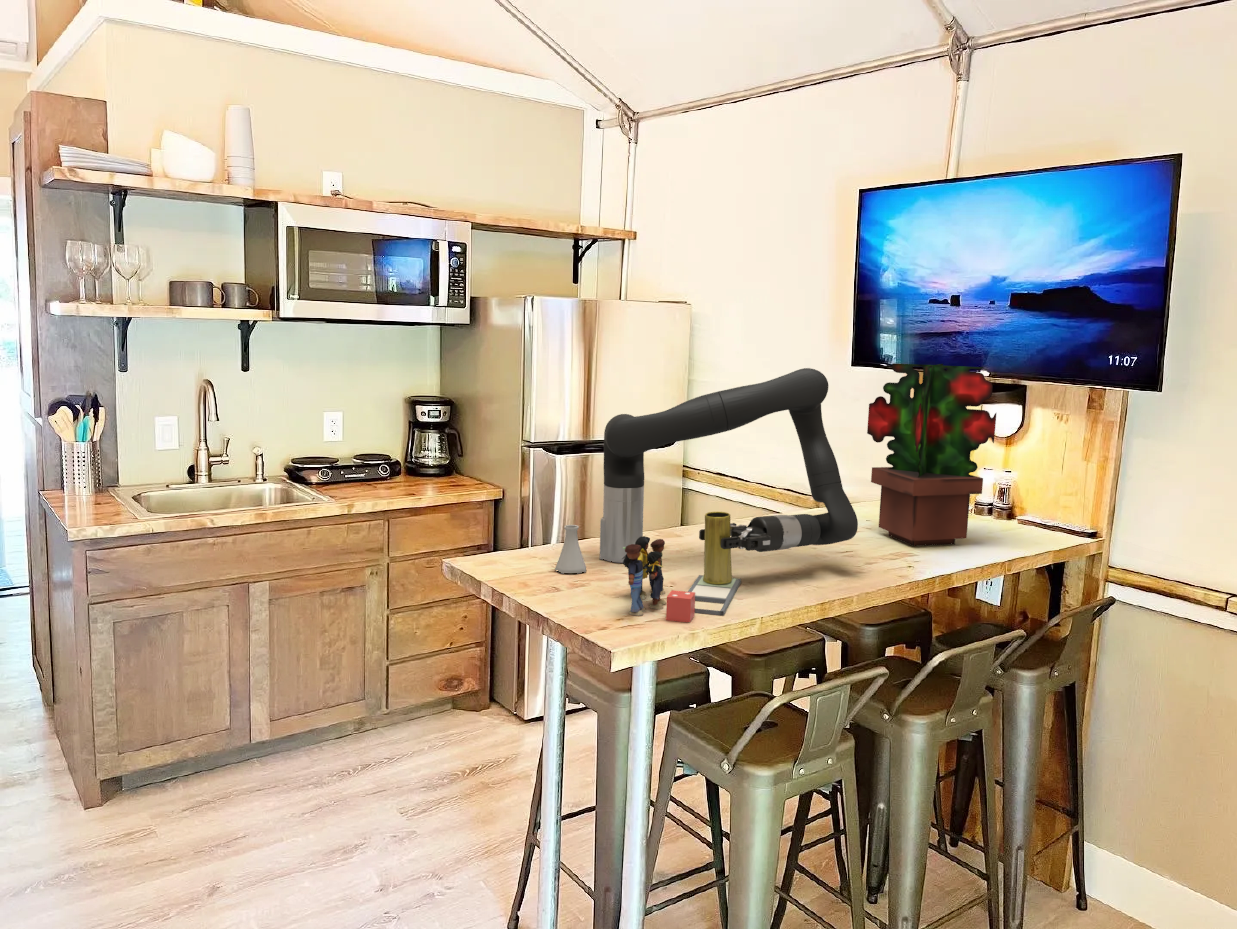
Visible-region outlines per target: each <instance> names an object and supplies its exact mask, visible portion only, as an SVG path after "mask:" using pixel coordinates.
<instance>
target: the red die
mask: <svg viewBox="0 0 1237 929" xmlns="http://www.w3.org/2000/svg"><path fill="white" fill-rule="evenodd" d="M695 608H696V601H695V592H688V591H683V590H671V591H670V592H669V593H668V595H667V596H666V610H665V612H666V613H665V620H666V621H671V622H680V623H688V622H690V623H691V622H692V620H693V619H694V617H695V614H696V613H695Z"/></svg>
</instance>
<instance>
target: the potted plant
mask: <svg viewBox="0 0 1237 929" xmlns="http://www.w3.org/2000/svg"><path fill="white" fill-rule="evenodd" d="M914 367H922V379H921V380H922V382H921V383H920V376H921V375H920V372H919V370H917V369H914ZM891 368H892V371H893V372H894V373H897V374H898V373H899V374H906V375H904V376H902V377H900V378H899V380H898V382H886V383H884V385H883V386H882V389H883V392H884V393H886V394H889V402H888V401H887V399H886V397H884V396H877V397H876V398H875V399H874V401H873V402H870V403H868V417H867V431H866V434H867V435H869V436H871V438H872V441H874V442H875V443H882V442H883V441H884V439H885V438H886V437H890V438H894V439H890V440H889V441H887V443H886V448H887V449H888V450H889V451H891V452H893V453H889V454H887V455H886V458H885V461H886V463H887V464H888V465H890V466H881V467H878V466H877V467H871V478H870V483H873V484H875V485H878V486H881V488H880V502H879V514H878V515H879V516H878V528H880V529H882V530H883V531H884V530H885V531H887V532H888V537H890V538H893V539H896V540H897V541H901V542H902V543H904V544H908V545H910V546H912V547H927V546H945V545H946V546H950V545H955V541H956V540H957V539H960V540H961V539H967V536H968V533H967V532H968V522H969V510H970V500H971V498H970V497H971V495H979V494H980V495H982V494H983V484H984V478H983V477H980V476H976V475H972V474H970V473H974V472H976V471H977V469H978V464H977V463H976V462H975V461H973V460H971V452H973V451H977V450H978V449H979V447H980V446H981V445H984V444H986V443H987V442H988V440H989V439H991V442H992V443H993V444H994V443H995V436H996V435H995V433H996V424H997V412H995V413H994V415H993V416H992V417H991V415H990V414H991V413H990V412H989V411H987V410H985V409H976V408H975V409H973V408H972V409H971V408H967V407H980V406H981V405H982V404H983V402H984V401H985V400H989V399H990V398H991V397H992V395H993V388H994V386H993V382H991V381H990V380H987V379H986V377H985V375H984V374H983V373H982V372H978V371H976V372H975V371H970V370H982V369H984V368H985V367H984V366H963V365H944V363H938V364H921V363H920V364H917V363H916V364H915V363H896V362H894V363H893V362H892V363H891ZM945 369H946V370H945ZM912 389H913V396H912V397H911V392H912V391H911V390H912Z"/></svg>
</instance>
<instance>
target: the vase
mask: <svg viewBox="0 0 1237 929" xmlns="http://www.w3.org/2000/svg"><path fill="white" fill-rule="evenodd" d="M730 524H731V514H730V513H728V512H726V511H709V512H706V513H705V514H704V529H705V540H704V548H703V549H704V553H703V554H704V555H703V575H704V577H703V580H704V582H706V583H709V584H717V585H720V584H727V583H730V582H731V581H732V578H733V575H732V573H733V572H732V548H731V549H722V548H721V539H722V538H727V537H731V536H730Z"/></svg>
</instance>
